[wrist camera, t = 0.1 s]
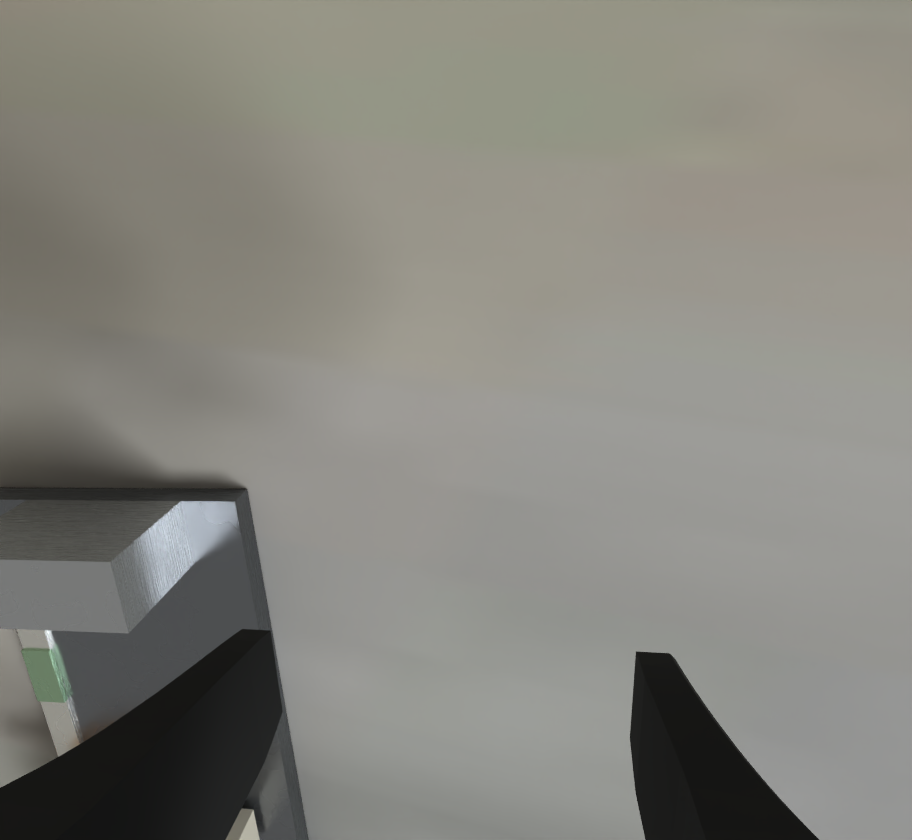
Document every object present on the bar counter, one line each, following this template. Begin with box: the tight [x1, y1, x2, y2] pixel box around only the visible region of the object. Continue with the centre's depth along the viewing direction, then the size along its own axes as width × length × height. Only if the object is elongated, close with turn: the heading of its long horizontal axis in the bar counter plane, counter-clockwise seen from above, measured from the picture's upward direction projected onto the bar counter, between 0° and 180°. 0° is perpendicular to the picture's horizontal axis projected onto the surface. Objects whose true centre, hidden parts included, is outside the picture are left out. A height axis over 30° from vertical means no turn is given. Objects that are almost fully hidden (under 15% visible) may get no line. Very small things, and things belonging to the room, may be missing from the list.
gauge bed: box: [0, 488, 309, 840], centre depth 25 cm, size 18×10×5 cm, turn 3°
